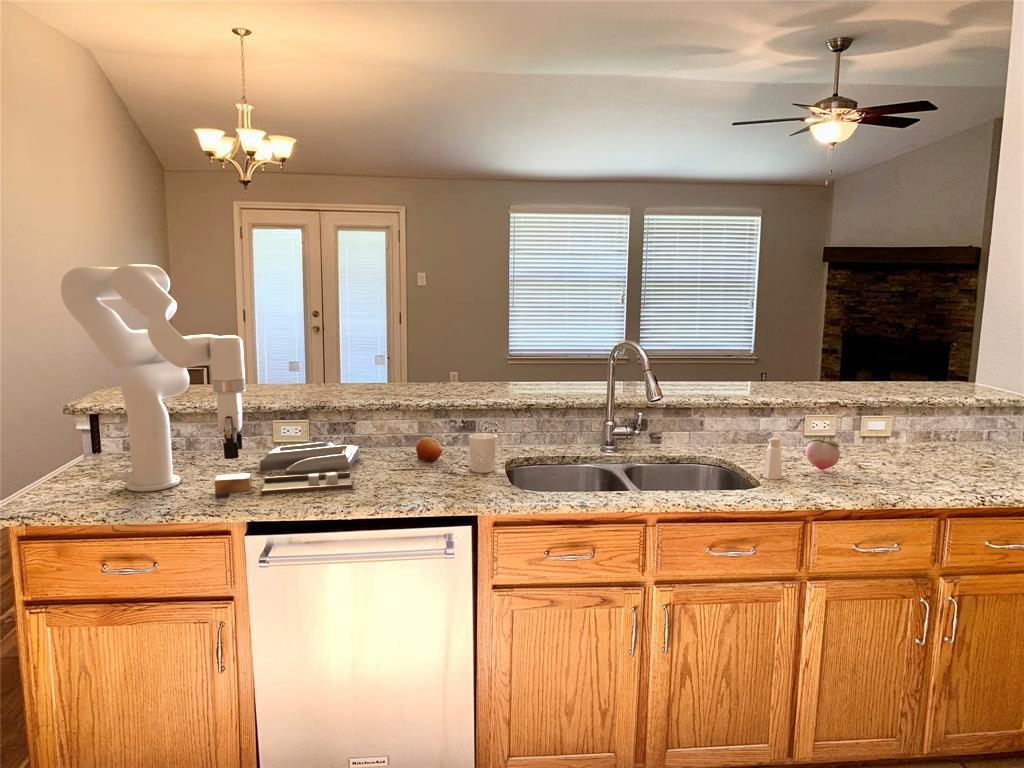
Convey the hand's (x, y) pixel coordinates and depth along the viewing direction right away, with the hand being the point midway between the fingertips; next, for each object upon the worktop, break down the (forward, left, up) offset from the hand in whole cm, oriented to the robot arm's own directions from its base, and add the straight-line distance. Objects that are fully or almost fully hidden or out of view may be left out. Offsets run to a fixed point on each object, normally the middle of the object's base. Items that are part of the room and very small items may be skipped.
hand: (233, 453), depth 175 cm
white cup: (+66, +7, -11) cm, 67 cm away
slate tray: (+17, 0, -10) cm, 20 cm away
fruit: (+52, +21, -11) cm, 58 cm away
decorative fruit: (+162, -16, -11) cm, 164 cm away
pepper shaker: (+143, -19, -11) cm, 145 cm away
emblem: (+18, +22, -11) cm, 31 cm away
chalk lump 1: (+19, 0, -9) cm, 21 cm away
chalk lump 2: (+23, 0, -9) cm, 25 cm away
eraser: (-1, 0, -10) cm, 10 cm away
